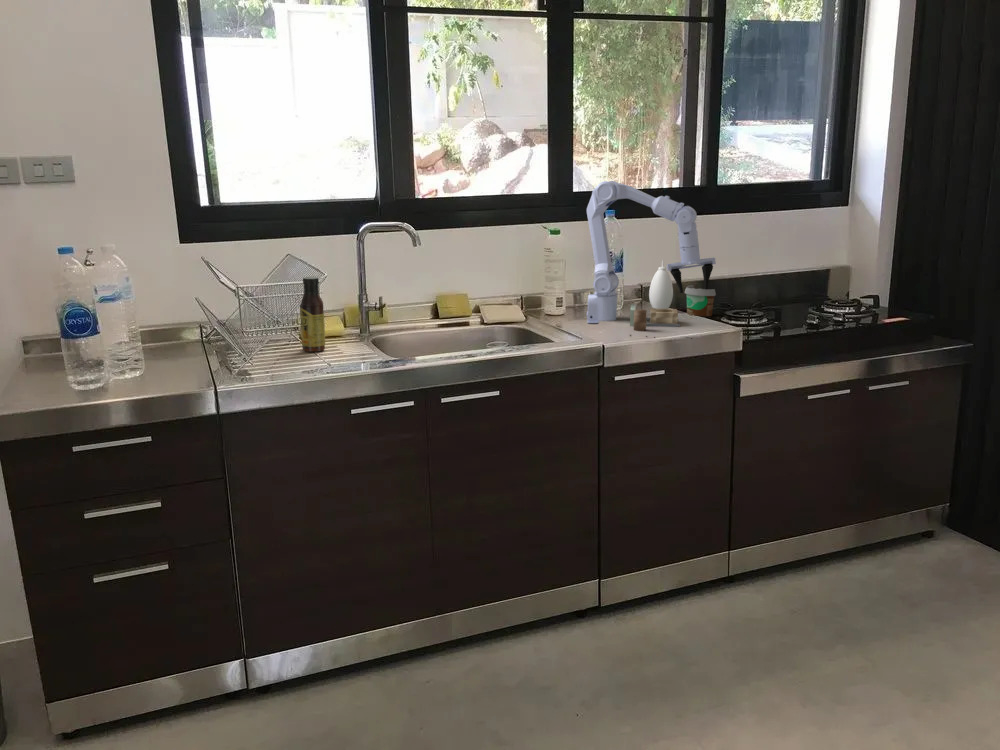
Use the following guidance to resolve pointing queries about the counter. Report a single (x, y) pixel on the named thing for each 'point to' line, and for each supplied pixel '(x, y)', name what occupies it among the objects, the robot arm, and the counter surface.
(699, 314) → the food container
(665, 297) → the sauce bottle
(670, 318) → the maple block
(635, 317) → the walnut dowel
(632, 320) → the slide board
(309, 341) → the sauce bottle
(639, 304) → the counter surface
